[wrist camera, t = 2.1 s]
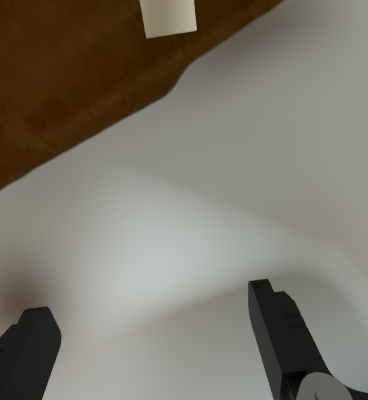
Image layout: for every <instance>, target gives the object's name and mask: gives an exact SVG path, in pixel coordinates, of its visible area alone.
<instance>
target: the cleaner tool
mask: <svg viewBox="0 0 368 400" xmlns="http://www.w3.org/2000/svg"><path fill="white" fill-rule="evenodd" d="M140 4H141V10H142V16H143V21H144V27H145V33H146V38H154V37H160V36H167V35H173V34H179V33H186V32H192V31H196V30H197V28H196V18H195V8H194V0H140Z"/></svg>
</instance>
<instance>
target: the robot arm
mask: <svg viewBox="0 0 368 400" xmlns="http://www.w3.org/2000/svg"><path fill="white" fill-rule="evenodd" d="M248 305H249V306H248V307H249V316H250V320H251V324H252V328H253V331H254V334H255V338H256V341H257V344H258V348H259V351H260V354H261V358H262V361H263V365H264V368H265V371H266V375H267V378H268V381H269V385H270V388H271V392H272V395H273V398H274V400H368V393H365V392H360V391H357V390H353V389H351V388H349V387H347V386H345V385H344V384H342V383H341V382H340V381H339V380H337V379H336V378H335V377H334V376H333V375H332V374H331V373H330V371H329V370H328V368H327V367H326V365H325V363H324V361H323V359H322V356H321V354H320V352H319V350H318V348H317V346H316V344H315V342H314V340H313V338H312V336H311V334H310V332H309V330H308V328H307V327H306V324H305V322H304V320H303V318H302V316H301V314H300V311H299V309H298V307H297V305H296V303H295V301H294V300H293V299H291V297H290V296H289V295H287V294H286V293H285V292H284V291H281V292H274V291H273V289H272V287H271V284H270V282H269V281H268V279H263V280H254V281H249V283H248ZM60 345H61V332H60V329H59V327H58V325H57V323H56V321H55V319H54V317H53V315H52V313H51V311H50V309H49V308H48V307H37V308H30V309H26V310H25V311H24V312H23V313H22V315H21V317H20V319H19V321H18V323H17V324H14V325H11V327H9V329H8V330H7V331H6V332H5V333H4V334H3V335H2V336H1V337H0V400H42V398H43V395H44V392H45V389H46V386H47V383H48V380H49V378H50V375H51V372H52V369H53V366H54V363H55V360H56V357H57V354H58V352H59V348H60Z"/></svg>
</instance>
